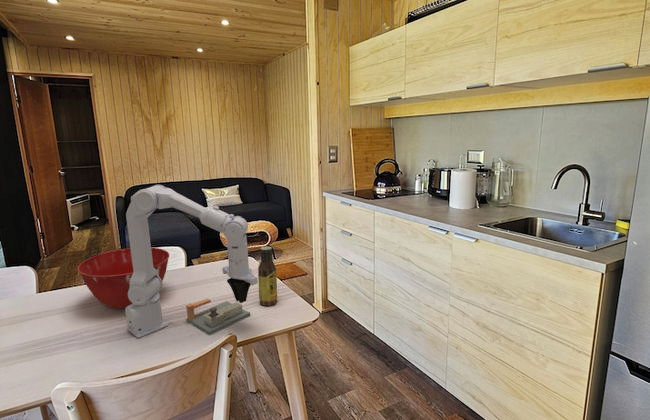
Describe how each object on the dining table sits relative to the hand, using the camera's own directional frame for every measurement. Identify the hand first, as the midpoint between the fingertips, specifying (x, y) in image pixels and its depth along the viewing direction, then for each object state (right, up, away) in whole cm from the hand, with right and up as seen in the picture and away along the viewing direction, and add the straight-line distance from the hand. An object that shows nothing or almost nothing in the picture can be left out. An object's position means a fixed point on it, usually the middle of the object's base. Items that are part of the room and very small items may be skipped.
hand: (241, 300), depth 112 cm
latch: (-6, -6, +5) cm, 10 cm away
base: (-9, -7, +7) cm, 13 cm away
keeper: (-15, -7, +7) cm, 18 cm away
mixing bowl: (-44, -5, +21) cm, 49 cm away
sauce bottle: (+6, -5, +17) cm, 19 cm away
